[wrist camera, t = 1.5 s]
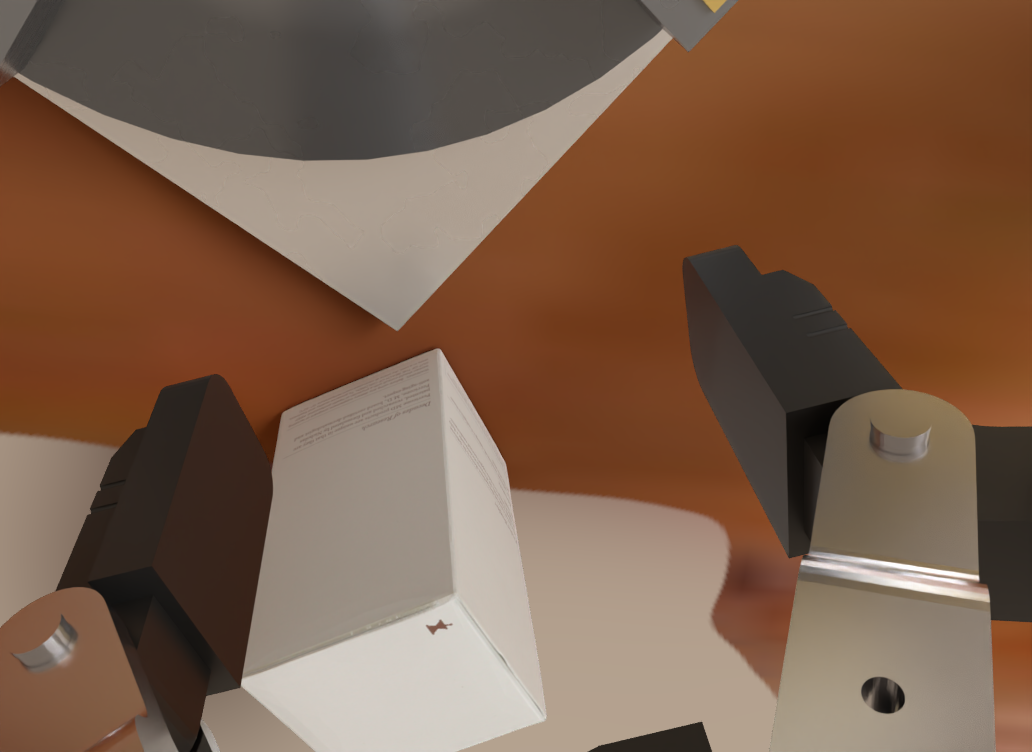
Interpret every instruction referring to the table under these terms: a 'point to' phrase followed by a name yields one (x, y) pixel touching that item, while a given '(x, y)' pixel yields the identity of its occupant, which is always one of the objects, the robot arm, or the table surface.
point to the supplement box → (393, 573)
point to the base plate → (376, 193)
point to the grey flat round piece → (331, 65)
